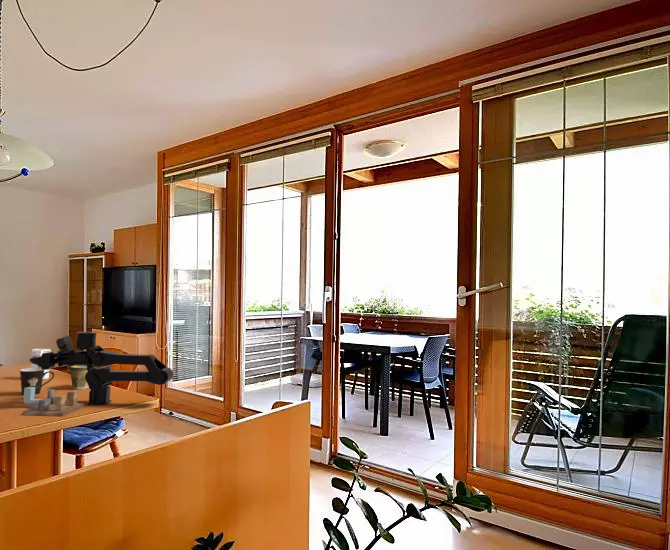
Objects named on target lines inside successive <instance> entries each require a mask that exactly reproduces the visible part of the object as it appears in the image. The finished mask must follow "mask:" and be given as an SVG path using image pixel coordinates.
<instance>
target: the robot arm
mask: <svg viewBox="0 0 670 550" xmlns="http://www.w3.org/2000/svg"><path fill="white" fill-rule="evenodd" d="M96 340H97V332H92V331H78V332H76V348H77V349H75V348H74V345H73V341H72V338H71V336H69V335H67V336H63V337H59V338H57V339H55V341H56V343H55V344H56V347H57V349H58V350H57V353H54V351H51V352H46V353H42V356H41V357H35V358H32V357H31V358H29V362H30V363H31V362H32V363H34V364H36V365H38V366H40V367H41V369H42V370H48V369H49V370H52V369H54V367H55V366H56V365H57V367H59V368H60V367H66V366H67V367H71V366H87V371H88V372H87V373H86V375H85V380H86V382H87V383H88V386H89V388H88V389H89V392H88V393H89V395H88V402H87V405H92V404H93V405H96V406H98V405H99V406H102V405H103V406H104V405H107V404H110V403H111V402H112V401H113V400H112V399H111V386H112V385H113V382H146V383H150V384H152V385H161V386H162V385H164V384H167V383H168V382H170V381H172V380H173V378H174V372H173V370H172V369H171V367H167V365H165V364H166V363H164V362H162V361H161V360H160V359H158V358H157V357H156V356H155V354H151V353H150V354H140V353H139V354H136V353H133V354H132V353H119V352H116V351H112V350H108V349H104V348H103V347H101V346H100V345H96ZM111 365H130V366H131V365H134V366H145V367H146V370H113V369H111V367H112V366H111Z"/></svg>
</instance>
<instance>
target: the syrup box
mask: <svg viewBox="0 0 670 550" xmlns="http://www.w3.org/2000/svg"><path fill="white" fill-rule="evenodd" d="M46 352H52V351H51V348H33V349H32V350H31V358H35V357H41V356H42V353H46ZM30 368H41V367H40V366H38V365H36V364H34V363H32V362H30ZM48 371H50V369H48V370H44V373H45V372H48ZM49 377H50V373H46V374H45V375H44V377H43V379H44V380H48V378H49Z"/></svg>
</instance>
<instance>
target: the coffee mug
mask: <svg viewBox="0 0 670 550" xmlns="http://www.w3.org/2000/svg"><path fill="white" fill-rule="evenodd" d="M19 373H20V387H21V395H22V396H24V388H27V387H35V394H37V395H40V394H41V389H42V388H43V386H45V385H46V384H48V383H50V382H51V381H52V380H53V379H54V377H55V375H54V374H55V373H54V372H52V370H51V371H50V370H49V371H48V372H45V373H44V370H42V369H41V368H31V367H28V368H27V367H26V368H22V369H20V370H19ZM46 373H49V374H52V377H51V378H50V379H49V380H47V381H45V382H44V383H43V377H44V375H45V374H46ZM39 393H40V394H39Z"/></svg>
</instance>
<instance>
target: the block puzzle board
mask: <svg viewBox="0 0 670 550" xmlns="http://www.w3.org/2000/svg"><path fill="white" fill-rule="evenodd" d="M78 392H79V390H69V391H67V392H66V395H64V394H63V395H60V394H59V395H55V389H53V388H51V389H50V388H49V389H47V395H46V396H47V397H46V398H42V400H39V404H33V403H30V404H29V403H28V404H27V409H26V410H23V411H22V415H23V416H51V417H64V416H66V415H69V414H70V413H73V412H75V411H77V410H80V409H82V408H84V407H85V403H83V402H78ZM83 406H84V407H83ZM81 407H82V408H81ZM79 408H80V409H79Z"/></svg>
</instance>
